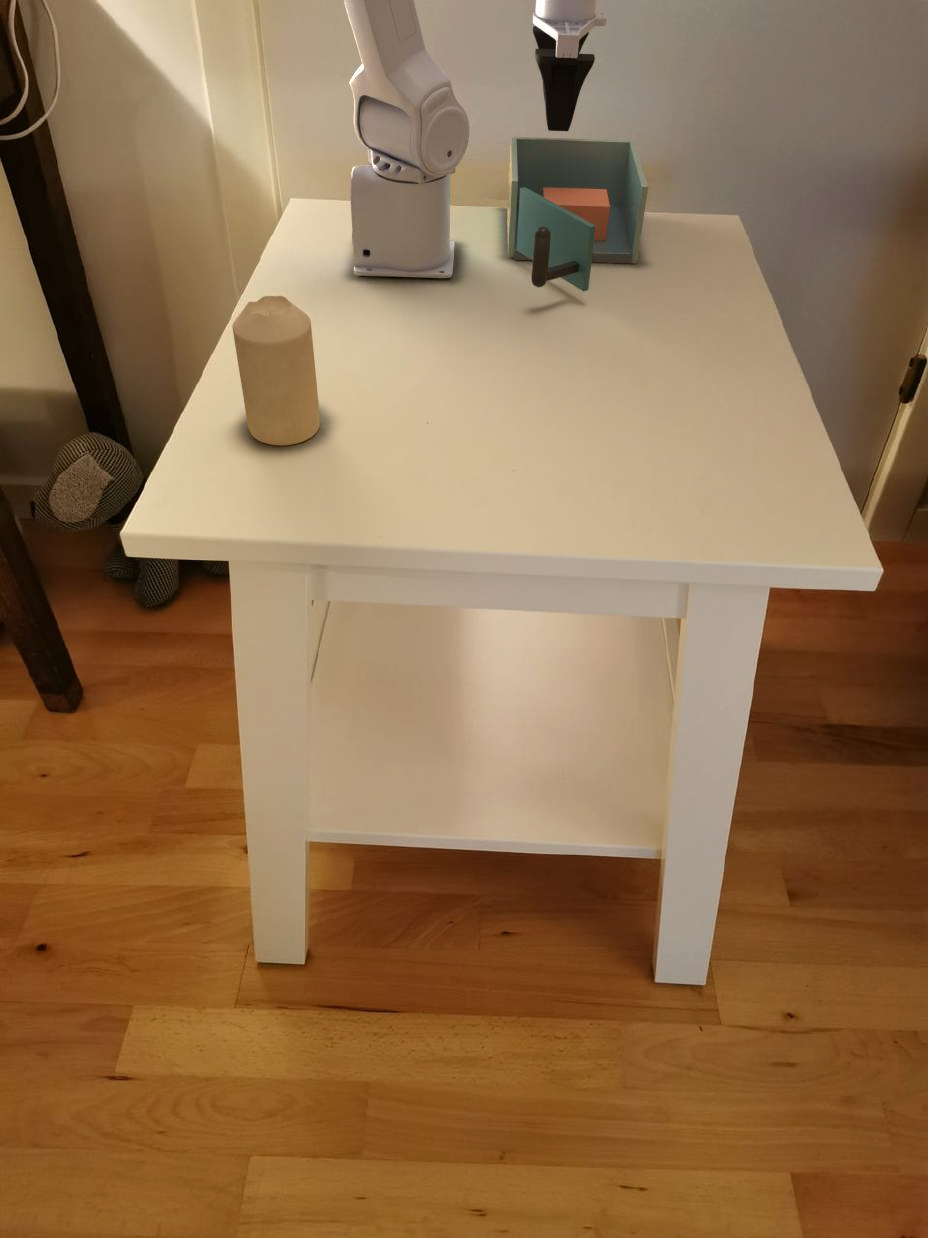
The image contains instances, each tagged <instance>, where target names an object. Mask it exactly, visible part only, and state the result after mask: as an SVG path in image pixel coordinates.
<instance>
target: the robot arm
mask: <svg viewBox="0 0 928 1238" xmlns="http://www.w3.org/2000/svg"><path fill="white" fill-rule="evenodd" d="M343 3H344V7H345V11H346V13H347V17H348V20H349V23H350V26H351V30H352V33H353V37H354V40H355V43H356V47H357V50H358V54H359V57H360V60H361V64H360V65H359V67H358V68H357V69H356V71H355V72H354V74H353V76H352V77H351V79H350V80H349V86H350V88H351V89H350V90H351V92H352V93H351V94H352V97H353V127H354V132H355V134H356V137H357V139H358V141H359V142H360V144H361V145H362V146H363V147H364V148H366V149H367V160H368V162H369V163H370V164H364V165H354V166H353V167H352V170H351V177H350V215H351V218H350V219H351V243H352V247H353V248H352V249H353V263H354V267H353V274H354V275H355V276H362V277H363V276H367V277H397V278H398V277H399V278H425V279H426V278H427V279H428V278H430V279H431V278H432V279H450V278H453V274H454V273H453V271H454V260H455V259H454V258H455V247H456V242H455V241H454V240H453V239H451V175H453V174H455V173H456V172H457V171H456V170H457V169H456V168H457V167H458V166H459V164H460V162H461V161H462V159H463V157H464V156H465V153H466V151H467V148H468V144H469V139H470V122H469V117H468V114H467V112H466V110H465V108H464V107H463V106H462V104H460V102H459V101H458V99H457V98H456V95H455V93H454V90H453V85H452V82H451V80H450V78H449V76H447V74H446V73H445V72H444V70H443V69H442V67H440V66H439V64H438V63H437V62H436V61H435V60H434V58H432V56H431V55H430V53H429V52H428V51H427V49H426V46H425V41H424V37H423V34H422V29H421V25H420V19H419V16H418V13H417V12H418V11H417V8H416V4H415V0H343ZM596 6H597V0H535V11H534V12H533V13H532V24H533V25H534V26H532V34H533V36H534V39H535V42H536V45H537V48H535V49H534V58H535V61H536V65H537V67H538V70H539V72H540V76H541V80H542V92H543V100H544V108H545V109H544V110H545V119H546V121H545V122H546V127H547V131H550V132H569V130H570V128H571V125H572V122H573V118H574V115H575V111H576V107H577V103H578V99H579V96H580V93H581V90H582V87H583V86H584V82H585V80H586V79H587V77H588V75H589V73H590V71H591V70H592V68H593V66H594V63H595V60H596V58H595V54H594V53H581V50H582V49H583V46H584V44H585V42H586V40H587V38H588V36H589V35H590V32H591V30H593V29H594V28H595V27H605V26H606V25H607V21H608V20H607V19H608V17H607V14H606V13H604V12H596Z"/></svg>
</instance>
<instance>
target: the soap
mask: <svg viewBox="0 0 928 1238" xmlns="http://www.w3.org/2000/svg"><path fill="white" fill-rule="evenodd" d="M542 197H544V198H546V199H548V200H549V201H551V202H553V203H555V204H557V205H559V206H560V207H562V208H564V209H566V210H568V211H570V212H571V213H573V214H575V215H577V216H579V217H580V218H582V219H584V220H586V221H588V222H590V223H591V224H593V225H595V226H596V227H595V236H594V241H606V236H607V228H608V220H609V211H610V204H609V199H608V194H607V190H606V189H581V188H549V187H543V194H542Z"/></svg>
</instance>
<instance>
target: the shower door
mask: <svg viewBox="0 0 928 1238" xmlns="http://www.w3.org/2000/svg"><path fill="white" fill-rule="evenodd" d="M595 227H596V226H595V225H593V224H591V223H590V222H588V221H586V220H584V219H582V218H580V217H579V216H577V215H575V214H573V213H571V212H570V211H568V210H566V209H564V208H562V207H560V206H559V205H557V204H555V203H553V202H551V201H549V200H548V199H546V198H544V197H542V196H540V195H539V194H537V193H535V192H533V191H531V190H529V189H528V188H526V187H523V188H520V200H519V217H518V234H517V251H518V252H520V253H522V254H523V255H525V256H527V257H528V258H530V259H531V260H530V261H532V264H531V265H532V267H531V283H532V285H533V286H534V287H536V288H543V287H545V285H546V284H547V282H550V281H553V280H555V279H559V278H561V279H562V280H564V281H565V282H567V283H569V284H570V285H572V286H573V287H575V288H577V289H578V290H580V291H582V292H587V291H589V287H590V277H591V270H592V263H593V262H592V253H593V244H594V236H595Z"/></svg>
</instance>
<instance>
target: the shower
mask: <svg viewBox="0 0 928 1238" xmlns="http://www.w3.org/2000/svg"><path fill="white" fill-rule="evenodd" d="M509 145H510V147H509V165H508V166H509V168H508V187H507V205H506V206H507V207H506V213H507V214H506V217H507V218H506V219H507V222H506V223H507V224H506V225H507V231H506V232H507V258H513V260H514V261H532V260H531V259H530V258H528V257H527V256H525V255H523V254H522V253H520V252H518V251H517V234H518V217H519V200H520V188H523V187H526V188H528V189H529V190H531V191H533V192H535V193H537V194H539V195H540V196H542V194H543V187H549V188H581V189H606V190H607V194H608V199H609V204H610V211H609V220H608V228H607V236H606V241H594V244H593V253H592V262H591V263H604V264H634V265H636V264H638V258H639V251H640V245H641V238H642V231H643V225H644V219H645V213H646V204H647V198H648V191H649V185H648V182H647V178H646V174H645V171H644V167H643V163H642V161H641V157H640V154H639V150H638V147H637V143H636V141H635V140H633V139H603V138H602V139H599V138H597V139H596V138H568V137H567V138H566V137H565V138H564V137H534V136H513V137H510V144H509Z"/></svg>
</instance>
